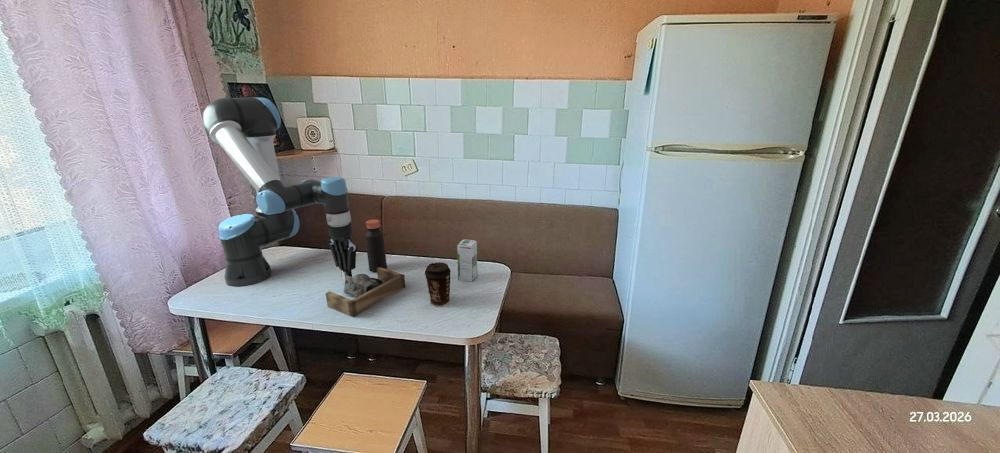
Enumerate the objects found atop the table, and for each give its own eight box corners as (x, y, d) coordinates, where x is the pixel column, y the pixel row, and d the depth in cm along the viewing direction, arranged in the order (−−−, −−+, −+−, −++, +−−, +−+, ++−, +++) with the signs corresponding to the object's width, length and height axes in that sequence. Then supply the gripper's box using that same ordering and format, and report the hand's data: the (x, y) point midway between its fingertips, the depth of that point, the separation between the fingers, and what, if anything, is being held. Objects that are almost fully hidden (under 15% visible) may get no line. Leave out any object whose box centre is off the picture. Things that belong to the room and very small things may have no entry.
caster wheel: (386, 294, 143) (371, 304, 133) (359, 284, 145) (342, 293, 135) (389, 277, 141) (374, 286, 132) (362, 267, 143) (345, 275, 134)
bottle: (386, 272, 154) (381, 223, 147) (368, 273, 152) (362, 224, 146) (387, 264, 160) (382, 218, 154) (369, 266, 159) (364, 219, 152)
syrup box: (463, 273, 152) (461, 238, 147) (477, 275, 151) (476, 240, 146) (457, 280, 147) (456, 244, 142) (472, 282, 145) (471, 245, 141)
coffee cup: (430, 294, 137) (427, 260, 132) (453, 295, 136) (452, 260, 132) (424, 308, 129) (421, 272, 124) (450, 308, 128) (448, 272, 124)
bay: (327, 306, 130) (325, 293, 128) (381, 279, 148) (379, 267, 147) (353, 317, 124) (351, 303, 122) (405, 287, 142) (404, 274, 140)
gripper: (317, 223, 133) (327, 286, 141) (342, 230, 126) (352, 295, 134) (336, 217, 139) (345, 277, 147) (361, 223, 132) (369, 286, 140)
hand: (348, 286), depth 140 cm, fingers closed
